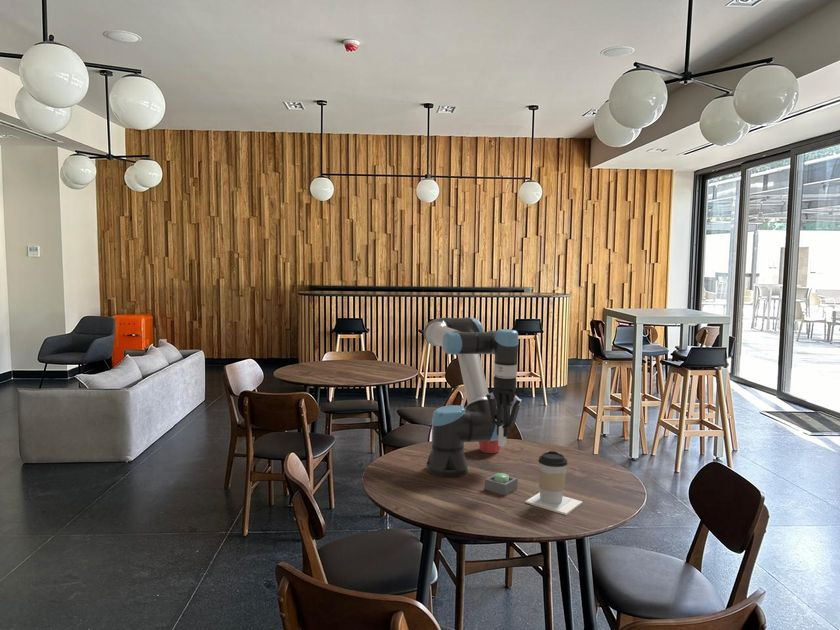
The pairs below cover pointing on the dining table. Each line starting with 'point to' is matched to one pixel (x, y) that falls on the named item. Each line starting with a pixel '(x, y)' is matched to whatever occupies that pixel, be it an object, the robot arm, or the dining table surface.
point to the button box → (501, 485)
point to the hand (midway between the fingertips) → (502, 445)
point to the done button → (501, 477)
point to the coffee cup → (552, 477)
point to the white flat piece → (563, 507)
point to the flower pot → (489, 446)
